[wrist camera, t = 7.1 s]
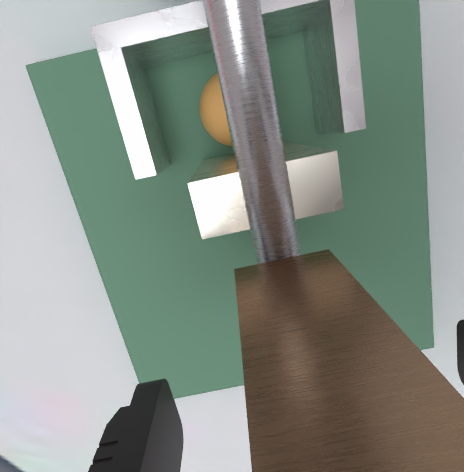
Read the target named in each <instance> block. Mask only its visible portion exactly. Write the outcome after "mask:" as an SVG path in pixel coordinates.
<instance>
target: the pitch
mask: <svg viewBox="0 0 464 472" xmlns="http://www.w3.org/2000/svg"><path fill="white" fill-rule="evenodd" d="M354 3H355V13H356V24H357V35H358V46H359V57H360V68H361V79H362V89H363V100H364V111H365V122H366V129H361V130H357V131H352V132H348V133H316V127H315V120H314V113H313V105H312V98H311V90H310V83H309V75H308V68H307V60H306V53H305V46H304V38H303V31H302V32H298V33H294V34H290V35H285V36H281V37H277V38H272V39H268V40H266V42H267V48H268V54H269V60H270V66H271V72H272V79H273V85H274V91H275V97H276V103H277V109H278V115H279V121H280V127H281V134H282V140H283V142H290V143H296V144H302V145H308V146H314V147H320V148H325V149H331V150H337V154H338V163H339V171H340V180H341V188H342V197H343V205H344V209H342V210H338V211H333V212H328V213H323V214H319V215H314V216H309V217H305V218H300V219H296V225H297V231H298V237H299V244H300V250H301V255H303V254H308V253H313V252H317V251H322V250H327V249H329V250H330V251H331V252H332V253H333V254H334V255H335V257H336V258H337V259H338V260H339V261H340V262H341V263H342V264H343V265H344V266H345V268H346V269H347V270H348V271H349V272H350V273H351V274H352V275H353V276H354V278H355V279H356V280H357V281H358V282H359V283H360V284H361V285H362V286H363V288H364V289H365V290H366V291H367V292H368V293H369V294H370V295H371V296H372V297H373V299H374V300H375V301H376V302H377V303H378V304H379V305H380V306H381V307H382V309H383V310H384V311H385V312H386V313H387V314H388V315H389V316H390V317H391V318H392V320H393V321H394V322H395V323H396V324H397V325H398V326H399V327H400V328H401V330H402V331H403V332H404V333H405V334H406V335H407V336H408V337H409V338H410V339H411V341H412V342H413V343H414V344H415V345H416V346H417V347H418V348H419V349H420V350H423V349H428V348H433V347H434V336H433V313H432V290H431V267H430V243H429V220H428V197H427V174H426V151H425V127H424V104H423V81H422V58H421V35H420V12H419V0H354ZM25 66H26V69H27V71H28V74H29V77H30V80H31V82H32V85H33V88H34V91H35V94H36V96H37V99H38V102H39V105H40V108H41V110H42V113H43V116H44V119H45V122H46V124H47V127H48V130H49V133H50V135H51V138H52V141H53V144H54V147H55V149H56V152H57V155H58V158H59V161H60V163H61V166H62V169H63V172H64V175H65V177H66V180H67V183H68V186H69V188H70V191H71V194H72V197H73V200H74V202H75V205H76V208H77V211H78V214H79V216H80V219H81V222H82V225H83V228H84V230H85V233H86V236H87V239H88V241H89V244H90V247H91V250H92V253H93V255H94V258H95V261H96V264H97V267H98V269H99V272H100V275H101V278H102V280H103V283H104V286H105V289H106V292H107V294H108V297H109V300H110V303H111V306H112V308H113V311H114V314H115V317H116V320H117V322H118V325H119V328H120V331H121V333H122V336H123V339H124V342H125V345H126V347H127V350H128V353H129V356H130V359H131V361H132V364H133V367H134V370H135V373H136V375H137V378H138V381H139V384H140V383H144V382H149V381H154V380H159V379H166V380H167V381H168V383H169V386H170V389H171V392H172V395H173V398H174V399H175V398H180V397H185V396H191V395H196V394H201V393H206V392H211V391H216V390H221V389H226V388H231V387H236V386H241V385H244V375H243V363H242V352H241V341H240V330H239V318H238V307H237V296H236V285H235V274H234V269H236V268H241V267H246V266H251V265H255V264H257V261H256V256H255V252H254V247H253V242H252V237H251V232H250V229H249V230H244V231H239V232H235V233H230V234H225V235H221V236H216V237H211V238H206V239H202V237H201V233H200V229H199V225H198V221H197V217H196V213H195V209H194V206H193V202H192V198H191V194H190V190H189V186H188V182H189V181H190V179H191V178H192V176H193V175H194V173H195V171H196V170H197V168H198V167H199V165H200V164H201V162H202V161H203V160H205V159H209V158H214V157H218V156H223V155H227V154H232V153H234V150H233V147H230V146H226V145H224V144H221V143H219V142H218V141H216V140H215V139H214V138H212V137H211V136H210V134H209V133H208V132H207V131H206V129H205V127H204V125H203V123H202V121H201V117H200V111H199V103H200V97H201V93H202V91H203V88H204V86H205V85H206V83H207V82H208V81H209V79H210V78H211V77H212V76H213V75H215V74H216V73H217V68H216V63H215V58H214V53H213V52H212V53H208V54H204V55H199V56H195V57H191V58H187V59H182V60H178V61H174V62H169V63H165V64H161V65H157V66H152V67H148V68H146V71H147V75H148V79H149V82H150V86H151V90H152V94H153V98H154V101H155V105H156V109H157V113H158V117H159V120H160V124H161V128H162V132H163V136H164V139H165V143H166V147H167V151H168V155H169V158H170V162H171V165H170V166H169V167H167V168H166V169H164V170H163V171H161V172H160V173H158V174H157V175H153V176H149V177H144V178H140V179H135V175H134V172H133V169H132V165H131V162H130V158H129V155H128V152H127V148H126V145H125V142H124V138H123V135H122V132H121V128H120V125H119V122H118V118H117V115H116V111H115V108H114V105H113V101H112V98H111V95H110V91H109V88H108V85H107V81H106V78H105V75H104V71H103V68H102V64H101V61H100V58H99V54H98V51H97V49H93V50H88V51H84V52H80V53H76V54H71V55H67V56H63V57H59V58H54V59H50V60H46V61H42V62H38V63H33V64H29V65H25Z"/></svg>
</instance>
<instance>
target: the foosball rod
mask: <svg viewBox="0 0 464 472" xmlns="http://www.w3.org/2000/svg"><path fill="white" fill-rule="evenodd" d="M203 5H204V10H205V15H206V20H207V24H208V29H209V34H210V39H211V44H212V49H213V53H214V58H215V63H216V68H217V73H218V78H219V82H220V87H221V92H222V97H223V102H224V107H225V111H226V116H227V121H228V126H229V131H230V136H231V140H232V145H233V150H234V153H232V154H227V155H223V156H218V157H214V158H209V159H205V160H203V161H202V162H201V164H200V165H199V167H198V168H197V170H196V171H195V173H194V175H193V176H192V178H191V179H190V181H189V182H188V186H189V190H190V194H191V198H192V202H193V206H194V209H195V213H196V217H197V221H198V225H199V229H200V233H201V237H202V239H206V238H211V237H216V236H221V235H225V234H230V233H235V232H239V231H244V230H249V229H250V232H251V237H252V242H253V247H254V252H255V256H256V261H257V264H255V265H251V266H246V267H241V268H236V269H234V274H235V285H236V296H237V307H238V318H239V330H240V341H241V352H242V363H243V375H244V386H245V397H246V408H247V419H248V431H249V442H250V453H251V464H252V472H464V398H463V397H462V396H461V395H460V394H459V393H458V391H457V390H456V389H455V388H454V387H453V386H452V385H451V384H450V383H449V382H448V380H447V379H446V378H445V377H444V376H443V375H442V374H441V373H440V372H439V370H438V369H437V368H436V367H435V366H434V365H433V364H432V363H431V362H430V360H429V359H428V358H427V357H426V356H425V355H424V354H423V353H422V352H421V351H420V349H419V348H418V347H417V346H416V345H415V344H414V343H413V342H412V341H411V339H410V338H409V337H408V336H407V335H406V334H405V333H404V332H403V331H402V330H401V328H400V327H399V326H398V325H397V324H396V323H395V322H394V321H393V320H392V318H391V317H390V316H389V315H388V314H387V313H386V312H385V311H384V310H383V309H382V307H381V306H380V305H379V304H378V303H377V302H376V301H375V300H374V299H373V297H372V296H371V295H370V294H369V293H368V292H367V291H366V290H365V289H364V288H363V286H362V285H361V284H360V283H359V282H358V281H357V280H356V279H355V278H354V276H353V275H352V274H351V273H350V272H349V271H348V270H347V269H346V268H345V266H344V265H343V264H342V263H341V262H340V261H339V260H338V259H337V258H336V257H335V255H334V254H333V253H332V252H331V251H330V250H329V249H327V250H322V251H317V252H313V253H308V254H303V255H301V250H300V244H299V237H298V231H297V225H296V219H300V218H305V217H309V216H314V215H319V214H323V213H328V212H333V211H338V210H342V209H344V205H343V197H342V188H341V180H340V171H339V163H338V154H337V150H331V149H325V148H320V147H314V146H308V145H302V144H296V143H290V142H283V140H282V134H281V127H280V121H279V115H278V109H277V103H276V97H275V91H274V85H273V79H272V72H271V66H270V60H269V54H268V48H267V42H266V36H265V30H264V24H263V17H262V11H261V5H260V0H203Z"/></svg>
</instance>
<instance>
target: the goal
mask: <svg viewBox="0 0 464 472" xmlns="http://www.w3.org/2000/svg"><path fill="white" fill-rule="evenodd" d="M260 5H261V11H262V17H263V24H264V30H265V36H266V40H268V39H272V38H277V37H281V36H285V35H290V34H294V33H298V32H302V31H303V38H304V46H305V53H306V60H307V68H308V75H309V83H310V90H311V98H312V105H313V113H314V120H315V127H316V133H348V132H352V131H357V130H361V129H366V122H365V111H364V100H363V89H362V79H361V68H360V57H359V46H358V35H357V24H356V13H355V3H354V0H260ZM91 31H92V34H93V38H94V41H95V44H96V48H97V51H98V54H99V58H100V61H101V64H102V68H103V71H104V75H105V78H106V81H107V85H108V88H109V91H110V95H111V98H112V101H113V105H114V108H115V111H116V115H117V118H118V122H119V125H120V128H121V132H122V135H123V138H124V142H125V145H126V148H127V152H128V155H129V158H130V162H131V165H132V169H133V172H134V175H135V179H140V178H144V177H149V176H153V175H157V174H158V173H160V172H161V171H163V170H164V169H166V168H167V167H169V166H170V165H171V162H170V158H169V155H168V151H167V147H166V143H165V139H164V136H163V132H162V128H161V124H160V120H159V117H158V113H157V109H156V105H155V101H154V98H153V94H152V90H151V86H150V82H149V79H148V75H147V71H146V68H148V67H152V66H157V65H161V64H165V63H169V62H174V61H178V60H182V59H187V58H191V57H195V56H199V55H204V54H208V53H212V52H213V49H212V44H211V39H210V34H209V29H208V24H207V20H206V15H205V10H204V5H203V0H200V1H195V2H191V3H187V4H183V5H179V6H175V7H170V8H166V9H162V10H158V11H154V12H149V13H145V14H141V15H137V16H133V17H128V18H124V19H120V20H116V21H112V22H108V23H103V24H99V25H95V26H91Z"/></svg>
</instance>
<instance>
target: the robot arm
mask: <svg viewBox="0 0 464 472" xmlns="http://www.w3.org/2000/svg"><path fill="white" fill-rule="evenodd" d="M457 366H458V373H459V376H460V379H461V381H462V383H463V385H464V320H460V321H459V322H458V324H457ZM182 451H183V429H182V424H181V420H180V417H179V414H178V411H177V407H176V404H175V401H174V398H173V395H172V392H171V389H170V386H169V383H168V381H167V380H166V379H159V380H154V381H149V382H144V383H140V384H138V385H137V386H136V389H135V392H134V395H133V398H132V401H131V404H130V406H126V407H121V408H120V409H119V410H118V411H117V412H116V414H115V415H114V416H113V418H112V419H111V420H110V421H109V423H108V424H107V425H106V428H105V430H104V433H103V435H102V438H101V441H100V443H99V448H97V451H96V453H95V456H94V458H93V465H91V466H90V469H89V471H88V472H180V468H181V459H182Z"/></svg>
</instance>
